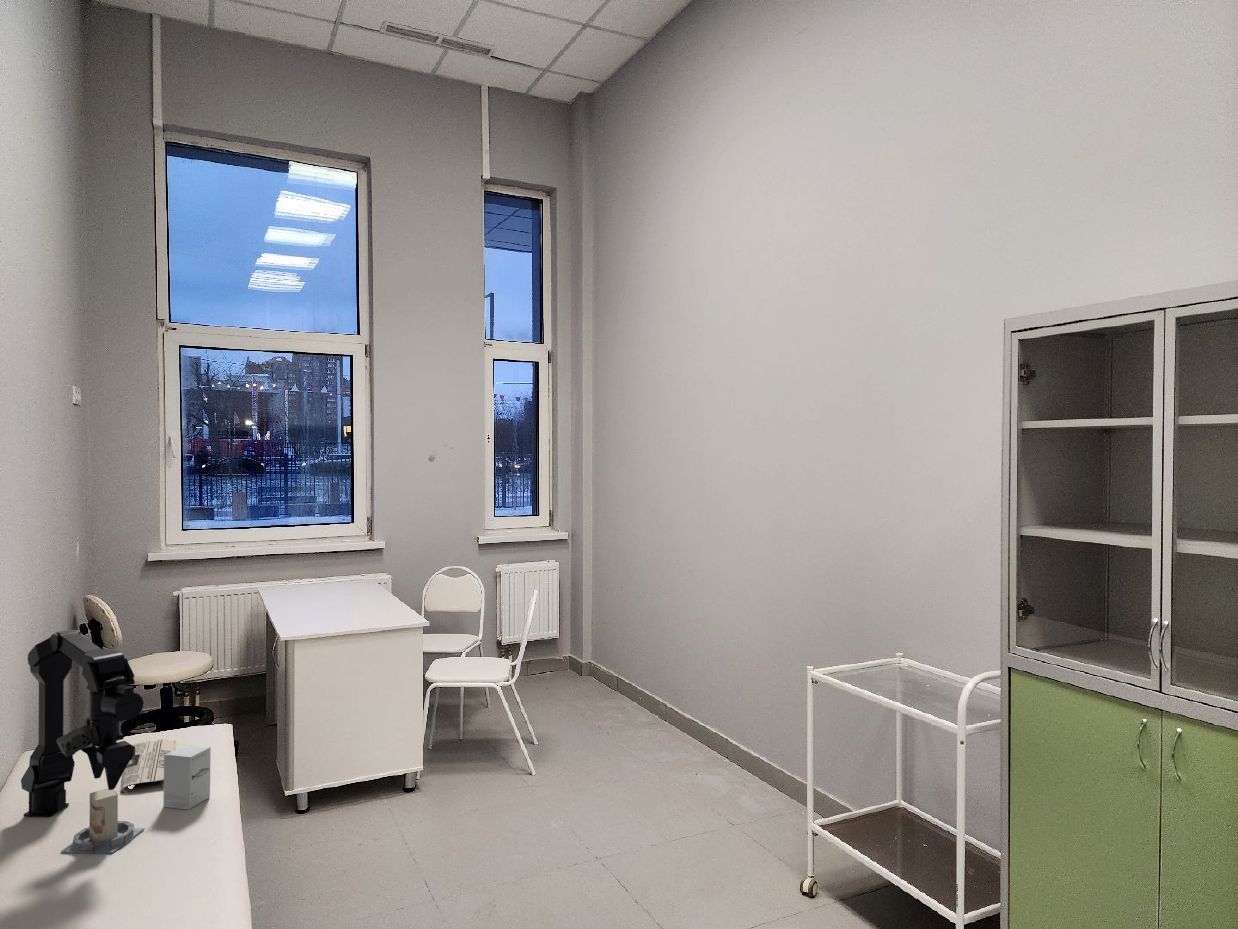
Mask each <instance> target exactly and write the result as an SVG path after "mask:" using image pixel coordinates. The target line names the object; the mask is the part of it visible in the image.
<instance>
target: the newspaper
mask: <svg viewBox="0 0 1238 929" xmlns="http://www.w3.org/2000/svg"><path fill="white" fill-rule="evenodd" d="M176 741H177V740H169V739H164V738H163V739H155V740H144V741H138V742H135V743H132V744H131V743H130V744H131V745H132V746H134V747H135V756H134V757H132V759H131V760H130V761H129V763H128V765H127V766H126V768H125V770H124V772H123V774H122V776H121V777H122V778H121V786H120V793H121V794H122V793H126V792H130V791H134V789H129V788H128V786H131V785H135V786H136V784H141V783H142V784H143V783H149V782H158V781H159V782H160V781H161V782H160V785H161V786H162V785H164V755H166V754H168V753H171V752H173V751H175V750H176V744H177V742H176Z"/></svg>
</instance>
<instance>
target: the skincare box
mask: <svg viewBox="0 0 1238 929" xmlns="http://www.w3.org/2000/svg"><path fill="white" fill-rule="evenodd" d="M118 804H119V795H118V793H117V792H116V790H115V789H113V790H109V789H108V788H106V789H101V790H97V791H93V792H90V793H89V827H90V830H89V838H90V840H91V842H100V841H105V840H110V839H112V838H115V837H118V821H119V820H118V819H119V818H118V817H119V816H118V814H119V813H118V812H119V808H118V807H119V806H118Z"/></svg>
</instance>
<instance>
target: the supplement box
mask: <svg viewBox="0 0 1238 929" xmlns="http://www.w3.org/2000/svg"><path fill="white" fill-rule="evenodd" d="M211 751H212V750H211V746H201V745H187V744H185V745H183V746H181V747H179V748H177V749H175V751H173V752H171V753H168V754H166V755H164V786H163V800H162V801H163V802H162V803H163V804H162V805H163V808H170V809H176V810H177V809H178V810H191V809H192V808H194V807H195V806H197V805H198V804H200V803H202V802H204V801H205V800H207V799H209V798H210V797H211V753H212V752H211Z"/></svg>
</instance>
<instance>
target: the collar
mask: <svg viewBox="0 0 1238 929" xmlns="http://www.w3.org/2000/svg"><path fill="white" fill-rule="evenodd" d="M145 829H146V828H145V827H135V824H134V823H132V822H130V821H127V820H118V837H115V838H112V839H110V840H105V841H100V842H91V840H90V838H89V830H90V826H88V827H86V828H83V829H81V830H79V831H78V832H77V833H75V834H74V835H73V839H72V843H70V844H69V845H68V846H66V847H65V848H63V849H62V850H60V854H91V855H92V854H95V855H96V854H98V855H99V854H100V855H101V854H103V855H104V854H105V855H110V854H111V855H113V854H114V853H116V852H117V851H118V850H121V848H122V847H124V846H125V845H126V844H128V843H129V842H131V840H133V839H134V838H136V837H137V836H138V835H140V834H141V833H142V832H144V831H145Z"/></svg>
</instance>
